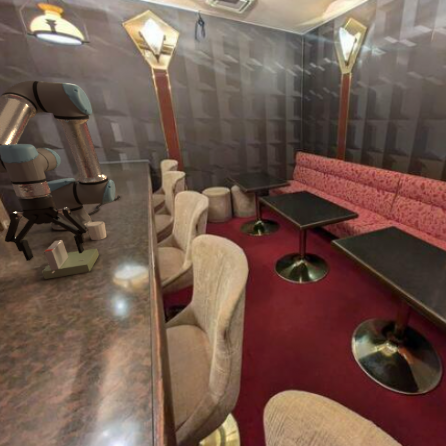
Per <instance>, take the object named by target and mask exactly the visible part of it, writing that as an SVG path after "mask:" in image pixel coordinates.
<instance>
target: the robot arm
mask: <svg viewBox="0 0 446 446" xmlns="http://www.w3.org/2000/svg"><path fill="white" fill-rule="evenodd" d="M41 113H43V114H45V113H46V114H52V116H53V118H54V119H55V120H56V121H57V122H59V123H60V124H61V127H62V129H63V132H64V135H65V138H66V140H67V144H68V146H69V148H70V151H71V153H72V156H73V159H74V162H75V165H76V168H77V170H78V172H79V176H78V178H77V180H76V178H74V177H67V178H60V179H59V178H58V179H53V180H50V181H48V180H47V177H46V174H45V173H46V172H52V171H54V170H56V169H57V168H59V166H60V165H61V163H62V159H61V156H60V155H59V154H58V152H56V151H55V150H53V149H51V148H48V147H36V146H34V145H33V144H30V143H19V141H20V139H21V137H22V135H23V133H24V131H25V129H26V127H27V124H28V122H29V121H30V119H32V118H34V117H35V116H36V115H37V114H41ZM90 115H93V108H92V104H91V101H90V99H89V97H88V95H87V94H86V92H85V90H84V89H83V88H82V87H81V86H80V85H77V84H74V83H68V82H57V81H56V82H55V81H54V82H53V81H41V80H25V81H21V82H18V83H16V84H14V85H12V86H10V87H8V88H7V89H6V90H4V92H3V93H2V94H1V95H0V174H2V173H7V175H8V177H9V180H10V182H11V185H12V188H13V191H14V192H15V193H14V194H15V196H16V197H18V199H17V201H18V203H19V206H20V208H21V210H22V211H18V210H15V211H13V212H11V213H10V214H9V215H8V216H9V220H10V221H9V223H8V224H9V225H8V229H7V231H6V235H5V237H4V242H6V243H14V244H15V246H16V248H17V250H18V251H19V252H22V253H23V256H24V258H25V260H26V262H30V261H31V260H32V259H33V258H34V257H35V256H34V254H33V252H32V249H31V247H30V244H29V242H28V240H27V239H24V238H25V237H26V235H27V234H28V233H29V231H30V230H31V229H32V227H33V226H34V225H36V226H38V225H43V224H44V225H49V224H51V228H52V230H54V231H59V232H60V231H61V232H64V231H68V232H69V233H72V234H73V235H74V236H73V239H74V242H75V246H76V248H77V251H79V253H82V252H83V251H84V250H85V248H84V245H83V244H84V243H85V241H86V240H85V236H84V234H86V233H88V228H87V227H86V226H85V225H86V224H87V223H90V222H93V219H92V217H91V215H93V214H95V213H97V212H98V211H100V206H102V205H104V204H111V203H113V202H114V201H117V200H119V198H121V196H120V195H117V196H116V184H115V181H114V180H112V179H109V176H108V175H107V174H105V173H103V171H102V167H101V164H100V160H99V157H98V153H97V150H96V148H95V145H94V142H93V139H92V135H91V133H90V128H89V126H88V121H89V120H90ZM84 205H96V208H97V209H95V210H94V211H91V212H89V213H88V211H86V210H85V208H84ZM22 218H25V219H27V222H26V223H25V225H24V226H23V227H22V229H21V230H20V231H19V233H18V234H16V233H17V231H18V228H19V224H20V222H21V219H22ZM16 235H17V236H16Z"/></svg>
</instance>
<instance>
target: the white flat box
mask: <svg viewBox="0 0 446 446" xmlns="http://www.w3.org/2000/svg"><path fill="white" fill-rule="evenodd" d="M67 253H68V252H67V250H66V247H65V244H64V241H63V240H62V239H60V240H54V241H53V243H51V245H50V246H48V248H46V249H45V250H44V252H43V254H44V256H45V259H46V261H47V263H48V264H49V266H50V268H51V270H58V269H60V267H61V266H62V265H63V263H64V262H65V261H66V260H67V258H68V255H67Z"/></svg>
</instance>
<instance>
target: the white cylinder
mask: <svg viewBox="0 0 446 446" xmlns="http://www.w3.org/2000/svg"><path fill="white" fill-rule="evenodd" d="M85 226H86V227H87V228H88V231H87V233H88V235H89V237H90V240H91V241H100V240H103V239H105V238H107V231H106V223H105V221H103V220H96V221H95V220H94V221H92V222H90V223H87V224H86V225H85Z"/></svg>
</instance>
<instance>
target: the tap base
mask: <svg viewBox="0 0 446 446" xmlns="http://www.w3.org/2000/svg"><path fill="white" fill-rule="evenodd" d="M67 255H68V258H67V260H66V261H65V262H64V263H63V265H62V266H61V267H60V269H58V270H51V268H50V266H49V263H48V264H47V265H46V266H45V267H44V269H43V270H42V271H41V272H42V275H43V278H44V280H47V279H54V278H61V277H65V276H72V275H78V274H85V273H88V272H91V270H92V269H93V267H94V264H95V263H96V261H97V259H98V257H99V251H98V248H91V249H84V251H83V252H82V253H79V251H78V250H77V251H70V252H67ZM34 268H41V265H39V266H34Z"/></svg>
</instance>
